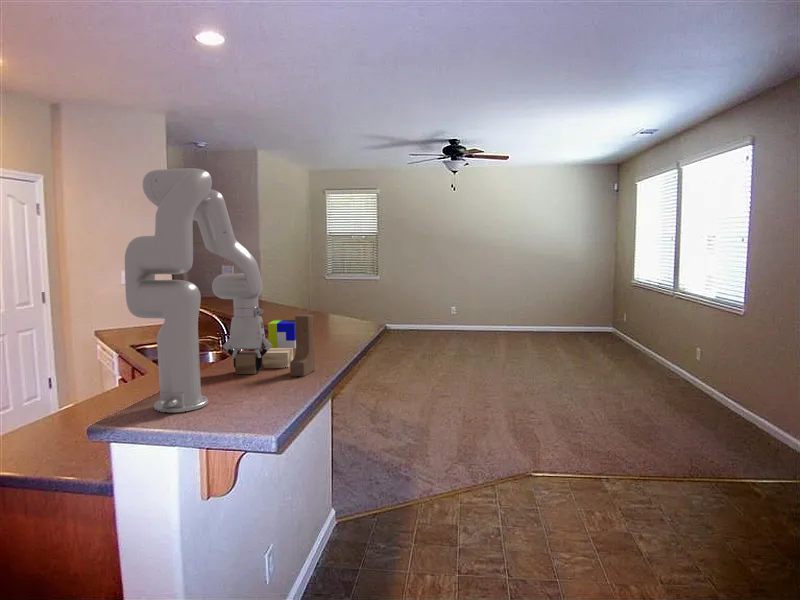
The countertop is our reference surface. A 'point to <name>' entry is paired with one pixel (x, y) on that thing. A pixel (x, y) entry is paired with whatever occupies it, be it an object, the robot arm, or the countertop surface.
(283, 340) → the puzzle toy
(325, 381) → the countertop surface
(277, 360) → the oak block
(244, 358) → the walnut cube
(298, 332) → the wooden block
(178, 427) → the countertop surface
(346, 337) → the countertop surface
